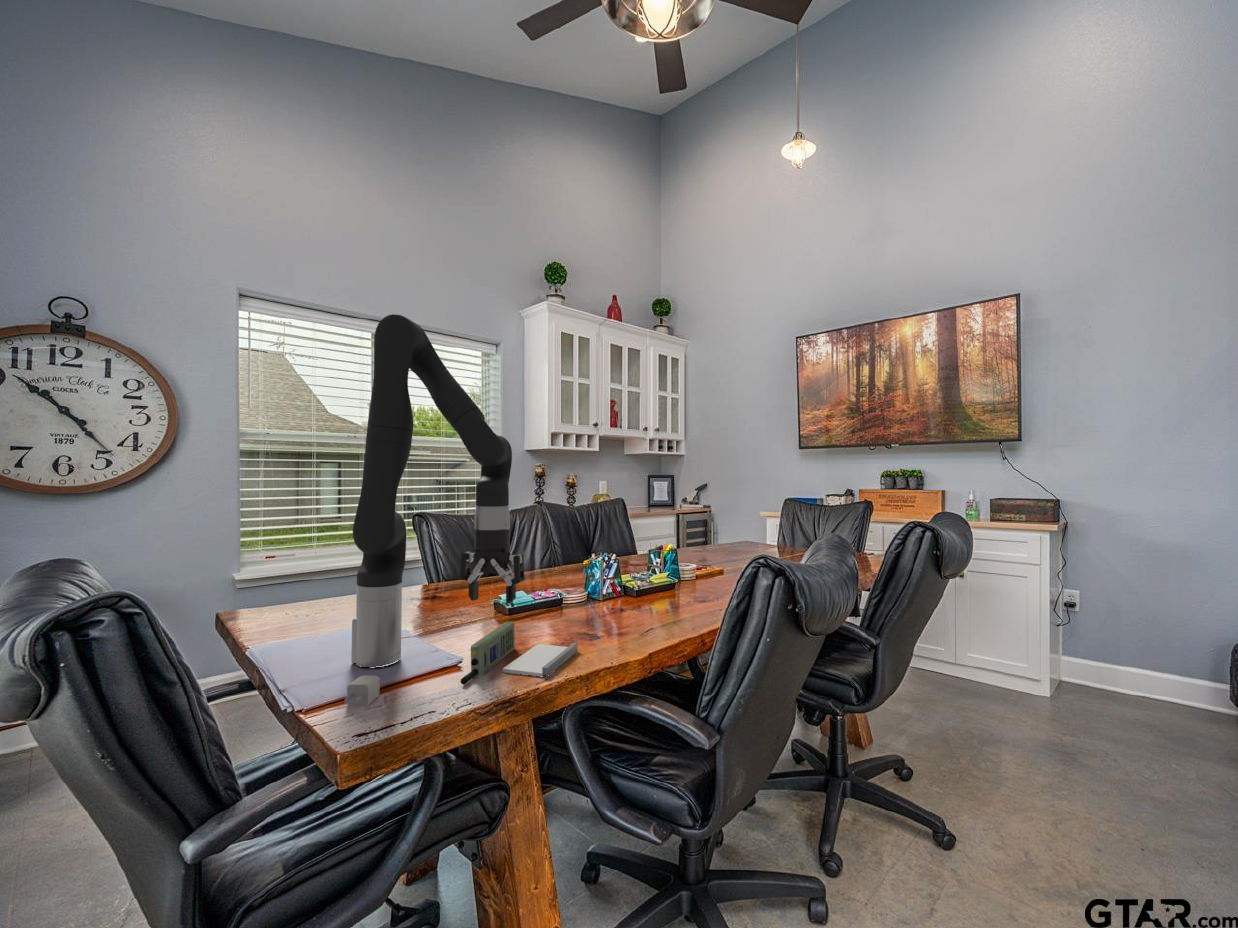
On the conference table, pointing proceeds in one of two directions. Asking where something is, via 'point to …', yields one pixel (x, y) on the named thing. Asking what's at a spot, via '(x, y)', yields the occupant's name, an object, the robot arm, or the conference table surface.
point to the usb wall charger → (363, 691)
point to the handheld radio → (491, 650)
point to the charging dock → (541, 660)
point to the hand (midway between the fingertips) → (492, 601)
